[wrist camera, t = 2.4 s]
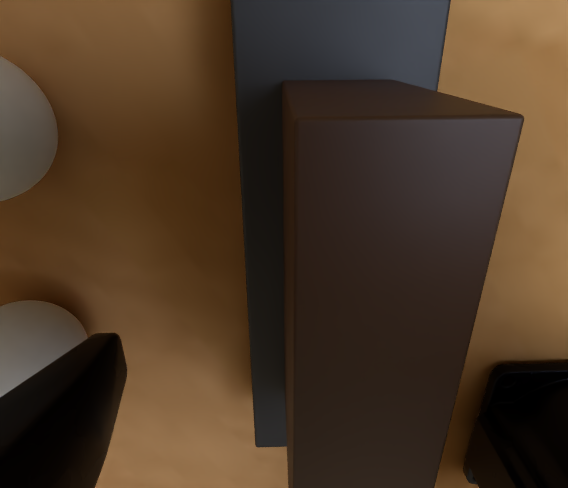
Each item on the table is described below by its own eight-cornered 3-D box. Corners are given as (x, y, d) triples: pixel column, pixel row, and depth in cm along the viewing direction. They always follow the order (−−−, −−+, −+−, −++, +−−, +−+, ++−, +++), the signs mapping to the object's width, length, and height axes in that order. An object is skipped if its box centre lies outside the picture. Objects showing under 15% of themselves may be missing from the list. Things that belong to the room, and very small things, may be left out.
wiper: (418, -40, 10) (740, -227, 3) (369, 388, 16) (440, 638, 9) (236, -40, 10) (160, -232, 3) (257, 391, 16) (248, 646, 9)
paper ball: (94, 277, 13) (39, 351, 10) (115, 361, 15) (72, 448, 12) (-16, 280, 13) (-108, 355, 10) (16, 364, 15) (-54, 452, 12)
